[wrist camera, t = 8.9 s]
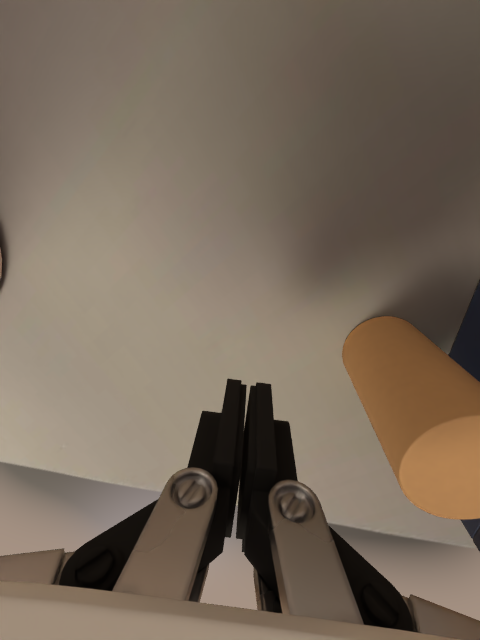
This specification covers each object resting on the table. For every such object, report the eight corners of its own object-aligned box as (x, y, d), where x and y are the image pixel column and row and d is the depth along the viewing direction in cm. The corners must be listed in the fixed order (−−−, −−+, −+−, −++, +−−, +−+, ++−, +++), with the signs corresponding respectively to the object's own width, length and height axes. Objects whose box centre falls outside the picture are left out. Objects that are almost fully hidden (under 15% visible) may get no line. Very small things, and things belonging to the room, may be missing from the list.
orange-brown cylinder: (365, 367, 24) (265, 399, 18) (387, 305, 22) (283, 319, 16) (545, 470, 16) (471, 589, 10) (603, 388, 14) (555, 474, 8)
